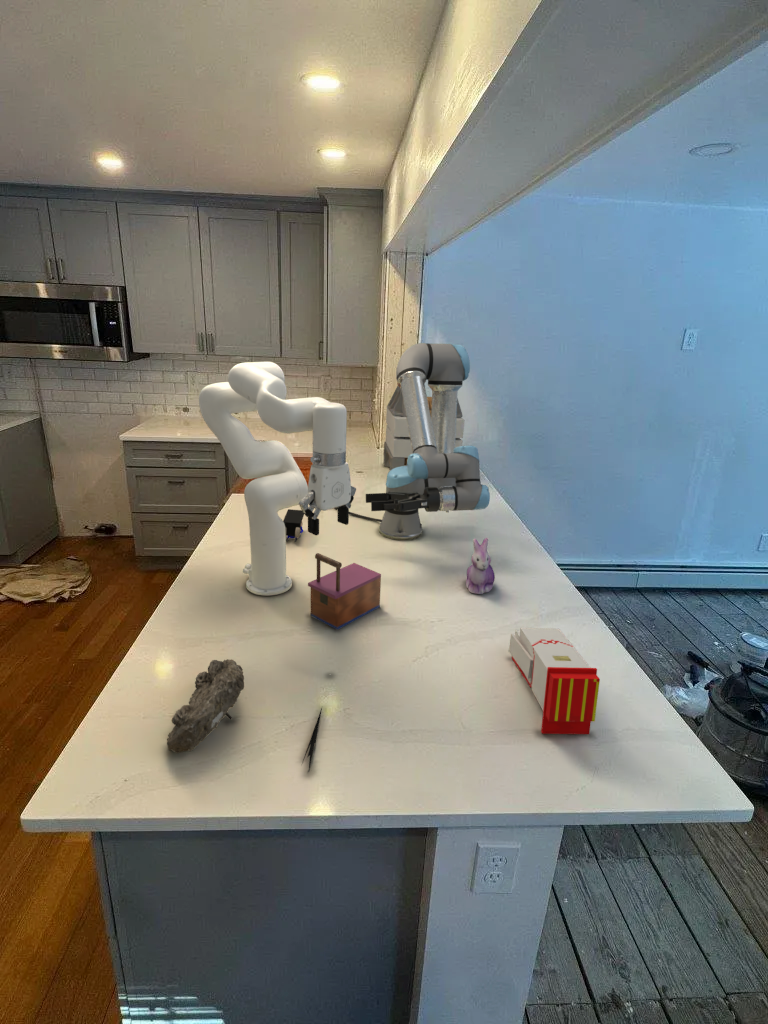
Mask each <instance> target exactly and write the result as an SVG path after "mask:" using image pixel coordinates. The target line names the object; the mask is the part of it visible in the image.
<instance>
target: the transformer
mask: <svg viewBox="0 0 768 1024" xmlns="http://www.w3.org/2000/svg"><path fill="white" fill-rule="evenodd" d="M427 400H428V405H429V410H430V416H431V408H432V396H427ZM385 414H386V415H385V423H386V428H385V438H384V442H383V466H384V467H388V468H389V471H390V470H392V469H394V468H397V467H401V466H407V459H408V456H409V455H410V454H413V452H412V446H411V440H410V435H409V429H408V424H407V418H406V412H405V407H404V401H403V395H402V390H401V388H400V387H399V386H398V385H397V386H396V388H395V390H394V392H393V394H392V395H391V398H390V400H389V402H388V404H387V405H386V413H385ZM464 429H465V419H464V418H463V411H462V408H461V405H460V402H459V398H458V397H457V414H456V435H455V448H456V447H459V446H463V442H464V441H463V440H462V439H463V438H464V431H465V430H464Z"/></svg>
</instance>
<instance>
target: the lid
mask: <svg viewBox="0 0 768 1024" xmlns="http://www.w3.org/2000/svg"><path fill="white" fill-rule="evenodd" d="M314 558H315V559H316V578H315V579H313V580H311V581H309V582H307V586H308V587H309V588H310V589H311V588H313V589H315V590H317V591H319V592H321V593H323V594H325V595H328V596H330V597H332V598H334V599H337V598H339V597H341V596H343V595H345V594H347V593H349V592H351V591H353V590H355V589H358V588H360V587H362V586H364V585H366V584H368V583H370V582H372V581H374V580H376V579H378V578H380V577H381V578H382V573H380V572H377V571H375V570H372V569H370V568H368V567H365V566H363V565H361V564H358V563H356V562H353V563H350V564H348V565H346V566H344V567H342V566H343V564H342V562H340V561H338V560H335V559H334V558H330V557H328V556H327V555H324V554H322V553H319V552H317V553H316V554H315V555H314ZM321 562H322V563H325V564H327V565H329V566H332V567H334V568H335V570H334V571H332V572H330V573H327V574H325V575H322V576H321Z"/></svg>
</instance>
